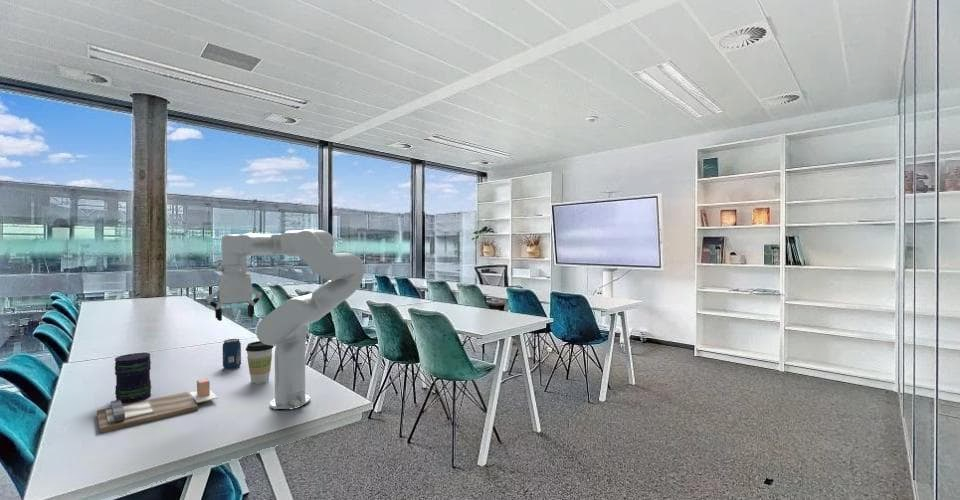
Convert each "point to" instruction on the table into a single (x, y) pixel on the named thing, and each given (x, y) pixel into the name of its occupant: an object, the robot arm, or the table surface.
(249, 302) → the robot arm
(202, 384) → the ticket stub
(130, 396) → the storage jar
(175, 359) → the table surface
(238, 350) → the soda can
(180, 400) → the board
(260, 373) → the coffee cup
